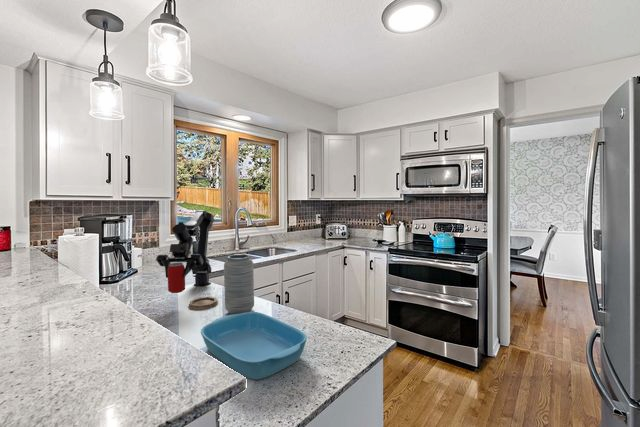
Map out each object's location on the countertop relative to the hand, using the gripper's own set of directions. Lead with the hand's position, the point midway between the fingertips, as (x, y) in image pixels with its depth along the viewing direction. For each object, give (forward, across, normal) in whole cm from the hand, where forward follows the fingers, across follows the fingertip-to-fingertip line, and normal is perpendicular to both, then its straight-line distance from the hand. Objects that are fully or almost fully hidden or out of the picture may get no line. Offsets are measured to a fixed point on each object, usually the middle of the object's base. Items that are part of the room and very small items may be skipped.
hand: (175, 277), depth 132 cm
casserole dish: (+38, +40, -20) cm, 59 cm away
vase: (+14, +28, +5) cm, 32 cm away
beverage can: (+4, 0, +6) cm, 7 cm away
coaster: (+8, +11, +11) cm, 17 cm away
